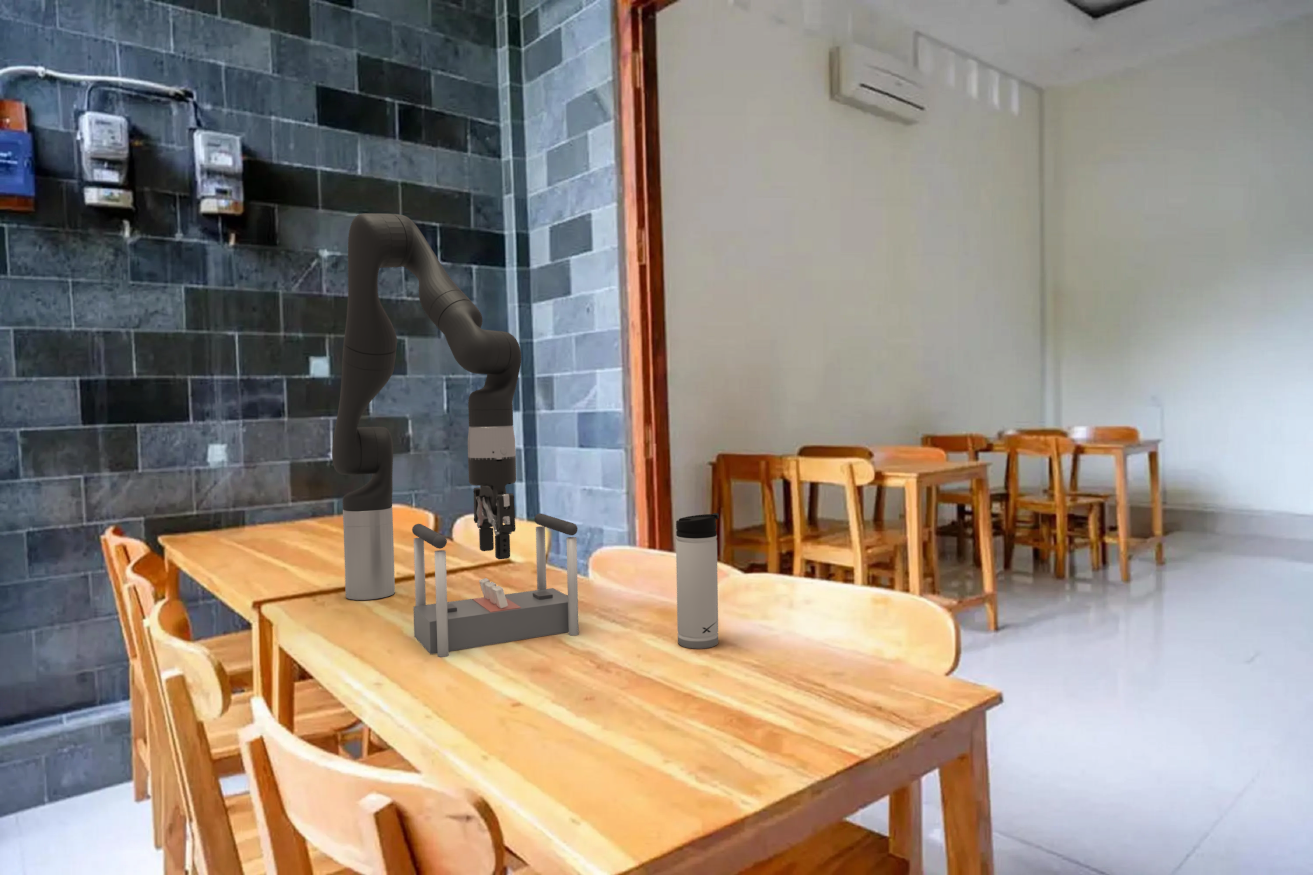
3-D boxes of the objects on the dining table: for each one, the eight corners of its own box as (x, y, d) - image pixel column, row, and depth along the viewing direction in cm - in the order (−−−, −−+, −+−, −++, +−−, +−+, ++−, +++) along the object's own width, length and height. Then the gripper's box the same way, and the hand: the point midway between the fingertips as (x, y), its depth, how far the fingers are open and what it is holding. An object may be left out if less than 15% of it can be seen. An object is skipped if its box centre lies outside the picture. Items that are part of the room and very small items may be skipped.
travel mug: (717, 650, 122) (716, 516, 121) (674, 648, 123) (672, 516, 122) (723, 638, 128) (721, 511, 127) (681, 636, 129) (679, 510, 128)
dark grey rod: (532, 524, 144) (532, 513, 143) (543, 523, 144) (543, 512, 144) (568, 536, 129) (567, 524, 129) (579, 535, 130) (579, 523, 130)
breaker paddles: (483, 597, 136) (478, 580, 136) (490, 594, 137) (485, 577, 136) (500, 608, 128) (495, 590, 128) (507, 605, 129) (502, 587, 128)
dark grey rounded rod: (411, 535, 133) (410, 523, 133) (423, 534, 134) (423, 522, 134) (434, 550, 119) (434, 536, 119) (448, 548, 120) (448, 535, 120)
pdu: (411, 633, 134) (408, 538, 133) (548, 612, 145) (546, 525, 145) (434, 658, 120) (431, 552, 119) (584, 633, 132) (582, 537, 131)
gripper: (457, 453, 136) (459, 550, 136) (482, 457, 123) (484, 564, 124) (500, 451, 139) (503, 546, 140) (529, 455, 127) (531, 558, 127)
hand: (494, 554), depth 132 cm, fingers open, 8 cm apart
